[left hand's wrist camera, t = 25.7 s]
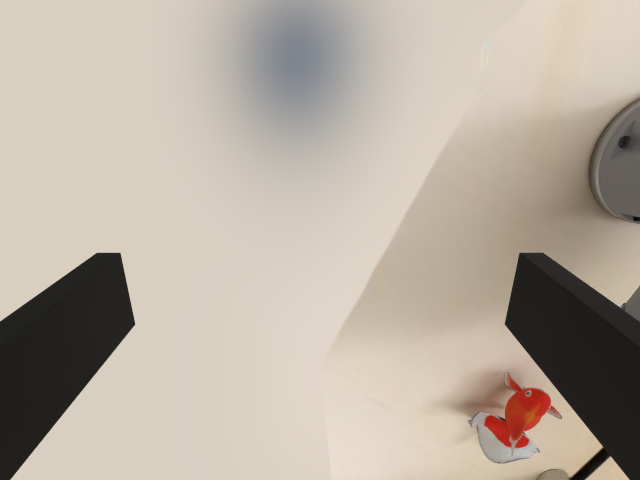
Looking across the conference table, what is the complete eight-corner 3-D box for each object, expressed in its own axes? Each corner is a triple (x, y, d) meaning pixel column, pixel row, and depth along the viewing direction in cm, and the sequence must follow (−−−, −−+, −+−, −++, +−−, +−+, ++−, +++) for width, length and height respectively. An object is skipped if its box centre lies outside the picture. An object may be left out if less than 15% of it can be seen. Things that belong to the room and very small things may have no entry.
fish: (594, 411, 52) (596, 477, 44) (503, 435, 62) (493, 492, 55) (534, 355, 52) (527, 411, 45) (454, 388, 63) (438, 439, 56)
